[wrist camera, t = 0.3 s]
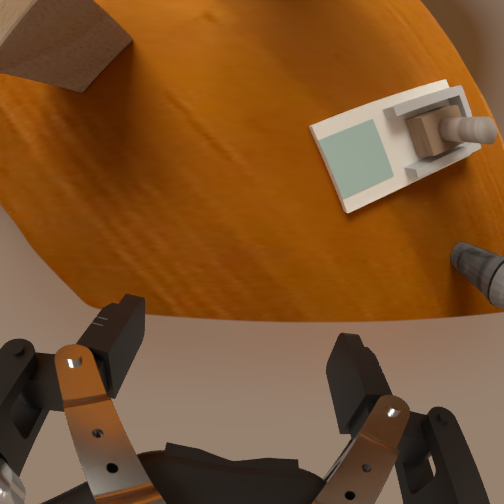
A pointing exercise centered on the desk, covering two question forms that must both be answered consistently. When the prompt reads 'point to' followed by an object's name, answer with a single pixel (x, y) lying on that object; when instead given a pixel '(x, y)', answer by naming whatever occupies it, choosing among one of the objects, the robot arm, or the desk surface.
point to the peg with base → (448, 130)
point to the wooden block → (58, 41)
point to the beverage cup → (481, 270)
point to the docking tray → (385, 144)
